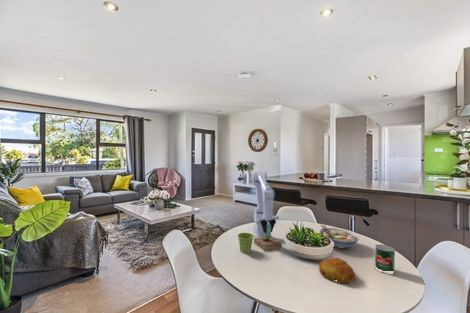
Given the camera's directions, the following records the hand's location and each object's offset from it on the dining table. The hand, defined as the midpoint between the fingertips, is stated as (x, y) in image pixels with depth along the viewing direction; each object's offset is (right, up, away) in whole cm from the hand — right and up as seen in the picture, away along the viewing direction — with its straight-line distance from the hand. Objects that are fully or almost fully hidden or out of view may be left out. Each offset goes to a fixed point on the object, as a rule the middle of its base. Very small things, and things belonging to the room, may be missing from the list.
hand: (267, 232), depth 137 cm
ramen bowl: (+44, -9, +2) cm, 45 cm away
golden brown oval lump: (+27, -10, -32) cm, 44 cm away
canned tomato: (+53, -10, -27) cm, 60 cm away
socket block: (0, -8, 0) cm, 8 cm away
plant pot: (-14, -8, -8) cm, 18 cm away
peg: (0, -3, 0) cm, 3 cm away
